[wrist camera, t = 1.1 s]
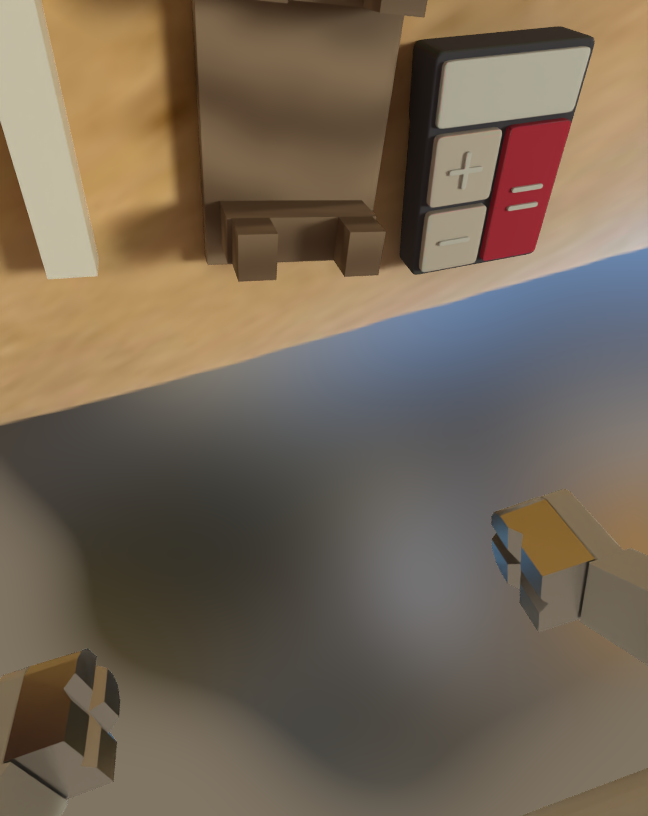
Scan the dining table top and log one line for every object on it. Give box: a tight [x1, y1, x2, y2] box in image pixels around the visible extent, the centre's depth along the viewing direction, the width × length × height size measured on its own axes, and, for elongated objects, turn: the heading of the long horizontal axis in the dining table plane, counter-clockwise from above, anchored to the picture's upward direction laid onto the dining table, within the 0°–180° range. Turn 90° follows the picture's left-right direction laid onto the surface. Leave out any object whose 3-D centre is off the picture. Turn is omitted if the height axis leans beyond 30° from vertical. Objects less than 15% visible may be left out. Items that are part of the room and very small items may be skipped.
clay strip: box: [0, 0, 99, 279], centre depth 29 cm, size 20×3×3 cm, turn 176°
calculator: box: [400, 27, 594, 275], centre depth 38 cm, size 11×4×15 cm
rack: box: [192, 0, 427, 281], centre depth 31 cm, size 20×12×7 cm, turn 174°
